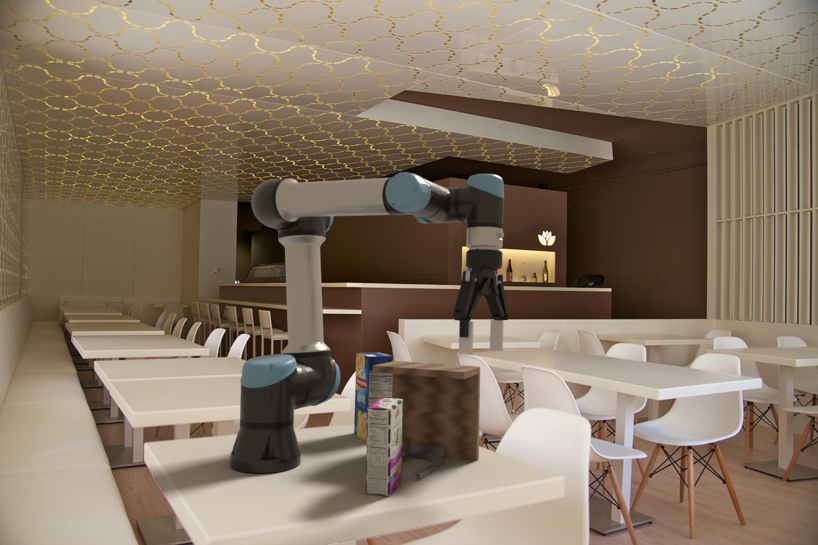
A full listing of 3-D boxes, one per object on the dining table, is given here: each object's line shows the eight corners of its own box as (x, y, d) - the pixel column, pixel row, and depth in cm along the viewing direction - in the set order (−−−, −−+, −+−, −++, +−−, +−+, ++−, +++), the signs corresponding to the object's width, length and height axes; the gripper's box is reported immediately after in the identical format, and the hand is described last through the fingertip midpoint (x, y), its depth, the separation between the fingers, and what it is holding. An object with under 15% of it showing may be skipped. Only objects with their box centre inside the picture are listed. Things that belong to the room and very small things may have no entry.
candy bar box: (378, 477, 118) (380, 397, 119) (402, 479, 117) (404, 398, 118) (363, 494, 107) (366, 406, 108) (389, 497, 106) (391, 408, 107)
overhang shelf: (352, 469, 123) (355, 369, 124) (393, 447, 142) (395, 360, 143) (448, 484, 114) (450, 376, 115) (478, 459, 133) (480, 366, 134)
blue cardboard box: (366, 442, 147) (369, 356, 148) (353, 432, 157) (356, 352, 158) (391, 440, 149) (393, 356, 150) (377, 431, 159) (379, 352, 161)
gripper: (471, 243, 106) (468, 357, 105) (525, 254, 126) (523, 350, 125) (437, 244, 110) (434, 354, 109) (494, 255, 131) (492, 347, 129)
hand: (481, 352), depth 117 cm, fingers open, 13 cm apart
